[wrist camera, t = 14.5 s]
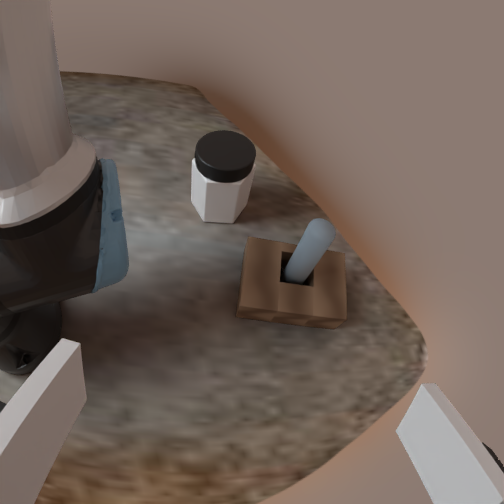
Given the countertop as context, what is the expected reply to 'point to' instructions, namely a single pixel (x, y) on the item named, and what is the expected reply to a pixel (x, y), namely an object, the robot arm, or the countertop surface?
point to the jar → (222, 175)
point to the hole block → (291, 287)
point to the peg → (308, 251)
